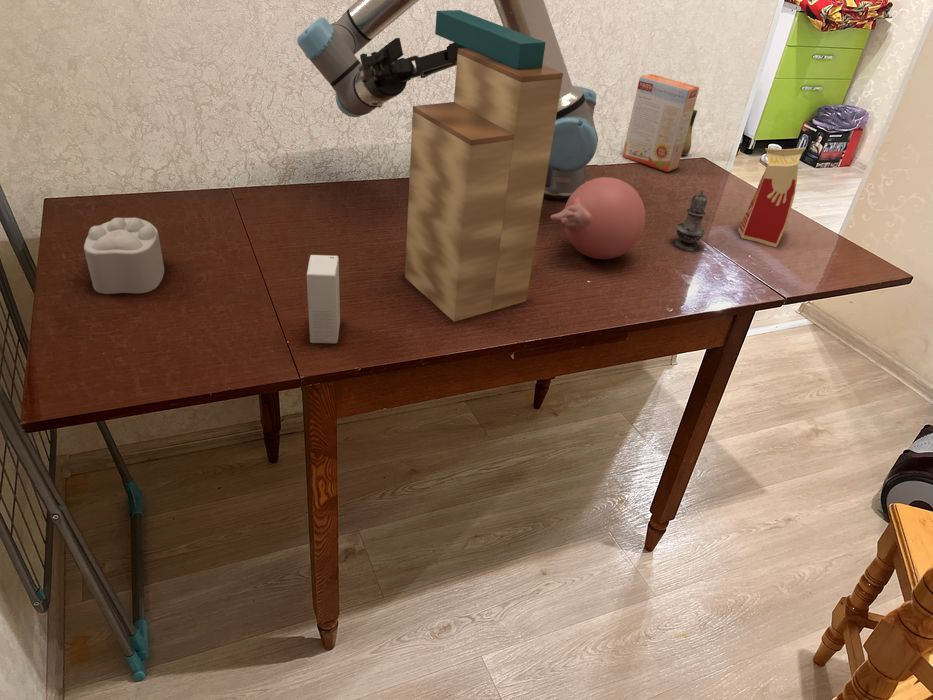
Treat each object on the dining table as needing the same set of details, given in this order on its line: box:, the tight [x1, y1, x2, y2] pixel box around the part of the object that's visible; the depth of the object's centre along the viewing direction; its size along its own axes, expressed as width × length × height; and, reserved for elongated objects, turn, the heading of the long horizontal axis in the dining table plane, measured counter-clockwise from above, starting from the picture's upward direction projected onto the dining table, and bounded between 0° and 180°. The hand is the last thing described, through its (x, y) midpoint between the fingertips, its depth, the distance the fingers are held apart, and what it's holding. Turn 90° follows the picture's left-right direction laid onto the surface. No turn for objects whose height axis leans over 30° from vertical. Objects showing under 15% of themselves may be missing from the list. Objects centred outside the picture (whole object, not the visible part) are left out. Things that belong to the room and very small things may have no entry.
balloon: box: [550, 176, 646, 260], centre depth 134 cm, size 15×20×15 cm
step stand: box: [404, 48, 563, 323], centre depth 113 cm, size 16×15×38 cm
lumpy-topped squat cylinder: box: [83, 217, 165, 295], centre depth 116 cm, size 10×13×9 cm
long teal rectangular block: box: [434, 9, 546, 70], centre depth 107 cm, size 22×4×4 cm, turn 34°
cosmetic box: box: [306, 254, 341, 344], centre depth 106 cm, size 6×4×12 cm
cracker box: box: [622, 73, 700, 173], centre depth 181 cm, size 14×6×21 cm, turn 47°
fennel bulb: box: [681, 109, 698, 156], centre depth 191 cm, size 6×5×12 cm
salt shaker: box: [673, 190, 708, 252], centre depth 144 cm, size 6×6×12 cm
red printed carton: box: [737, 147, 806, 249], centre depth 149 cm, size 9×9×20 cm
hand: (435, 44), depth 118 cm, fingers open, 13 cm apart
